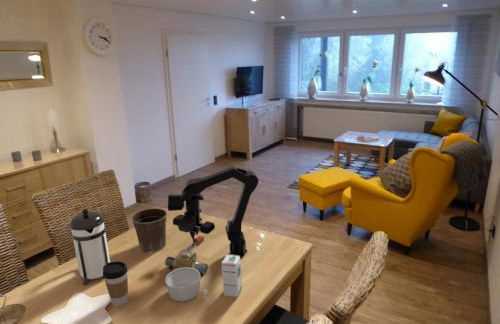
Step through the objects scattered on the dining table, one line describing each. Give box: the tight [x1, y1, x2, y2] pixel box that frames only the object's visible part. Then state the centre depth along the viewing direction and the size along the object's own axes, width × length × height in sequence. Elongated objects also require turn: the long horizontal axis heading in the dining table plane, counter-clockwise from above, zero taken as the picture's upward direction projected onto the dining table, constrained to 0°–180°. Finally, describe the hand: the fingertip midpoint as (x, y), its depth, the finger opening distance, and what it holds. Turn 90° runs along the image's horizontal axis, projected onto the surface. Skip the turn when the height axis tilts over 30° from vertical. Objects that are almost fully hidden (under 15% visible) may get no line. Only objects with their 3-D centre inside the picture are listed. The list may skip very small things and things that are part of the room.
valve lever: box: [180, 235, 205, 257], centre depth 151 cm, size 15×3×2 cm, turn 157°
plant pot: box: [130, 207, 168, 253], centre depth 166 cm, size 16×16×16 cm
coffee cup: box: [102, 260, 129, 307], centre depth 128 cm, size 8×8×15 cm
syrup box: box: [221, 254, 243, 298], centre depth 132 cm, size 6×6×14 cm
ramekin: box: [164, 268, 202, 302], centre depth 133 cm, size 13×13×7 cm
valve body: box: [164, 251, 209, 277], centre depth 147 cm, size 18×6×7 cm, turn 70°
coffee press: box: [68, 208, 111, 286], centre depth 143 cm, size 17×16×30 cm
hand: (194, 240), depth 155 cm, fingers closed
